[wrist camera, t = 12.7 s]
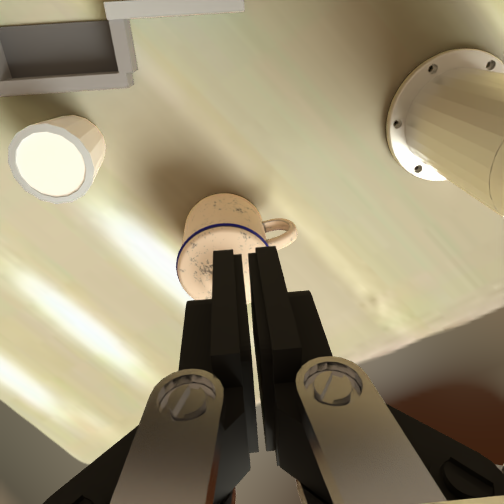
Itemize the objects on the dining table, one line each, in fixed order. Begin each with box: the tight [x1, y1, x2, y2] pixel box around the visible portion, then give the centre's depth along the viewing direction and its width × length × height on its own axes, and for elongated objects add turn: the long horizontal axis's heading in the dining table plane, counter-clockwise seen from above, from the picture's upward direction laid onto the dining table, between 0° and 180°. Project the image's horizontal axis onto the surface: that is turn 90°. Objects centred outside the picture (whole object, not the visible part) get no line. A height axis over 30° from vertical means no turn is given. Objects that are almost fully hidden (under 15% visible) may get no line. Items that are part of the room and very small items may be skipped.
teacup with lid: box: [176, 193, 297, 304], centre depth 41 cm, size 12×9×12 cm
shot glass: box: [8, 115, 106, 204], centre depth 37 cm, size 7×7×7 cm
